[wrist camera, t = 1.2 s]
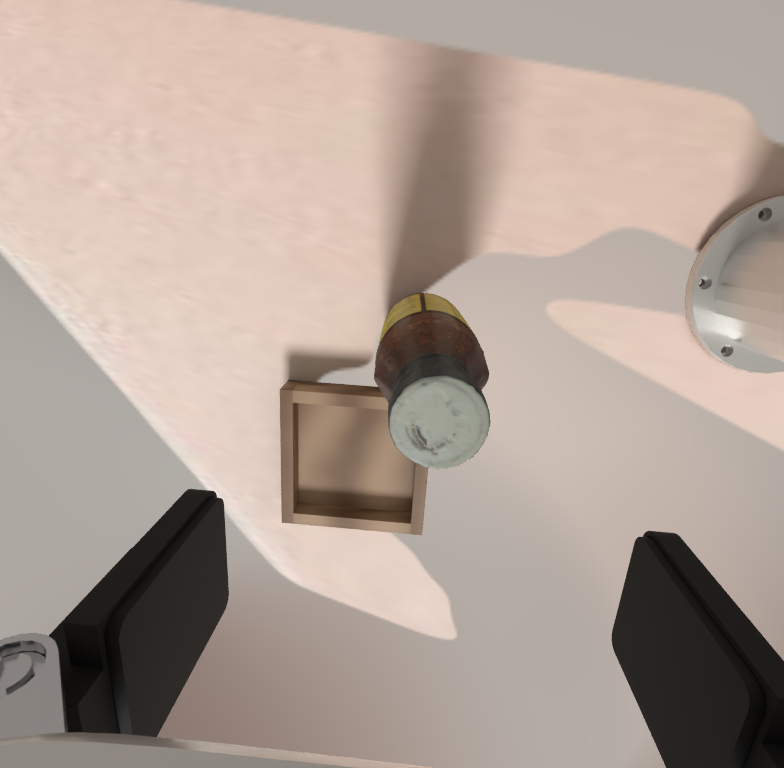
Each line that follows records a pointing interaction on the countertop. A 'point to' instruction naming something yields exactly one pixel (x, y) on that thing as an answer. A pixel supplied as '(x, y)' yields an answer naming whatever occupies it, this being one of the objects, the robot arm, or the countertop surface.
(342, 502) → the tray
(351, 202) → the countertop surface
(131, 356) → the countertop surface
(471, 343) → the sauce bottle
